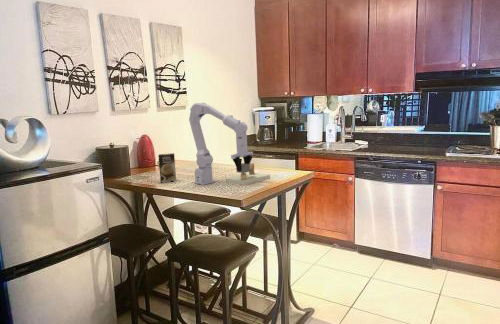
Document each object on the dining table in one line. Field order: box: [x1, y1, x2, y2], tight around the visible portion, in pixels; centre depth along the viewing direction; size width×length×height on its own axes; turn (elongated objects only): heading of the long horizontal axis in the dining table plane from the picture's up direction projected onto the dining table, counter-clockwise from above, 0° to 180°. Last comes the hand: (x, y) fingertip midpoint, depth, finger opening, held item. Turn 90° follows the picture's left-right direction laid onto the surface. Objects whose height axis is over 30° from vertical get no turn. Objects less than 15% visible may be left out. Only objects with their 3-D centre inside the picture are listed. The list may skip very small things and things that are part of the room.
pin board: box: [225, 172, 271, 186], centre depth 210 cm, size 20×15×5 cm
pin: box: [248, 162, 255, 175], centre depth 216 cm, size 3×3×6 cm
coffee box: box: [158, 153, 177, 183], centre depth 219 cm, size 9×6×16 cm
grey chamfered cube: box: [235, 162, 251, 174], centre depth 203 cm, size 5×5×4 cm
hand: (243, 170), depth 203 cm, fingers closed on grey chamfered cube, 5 cm apart
